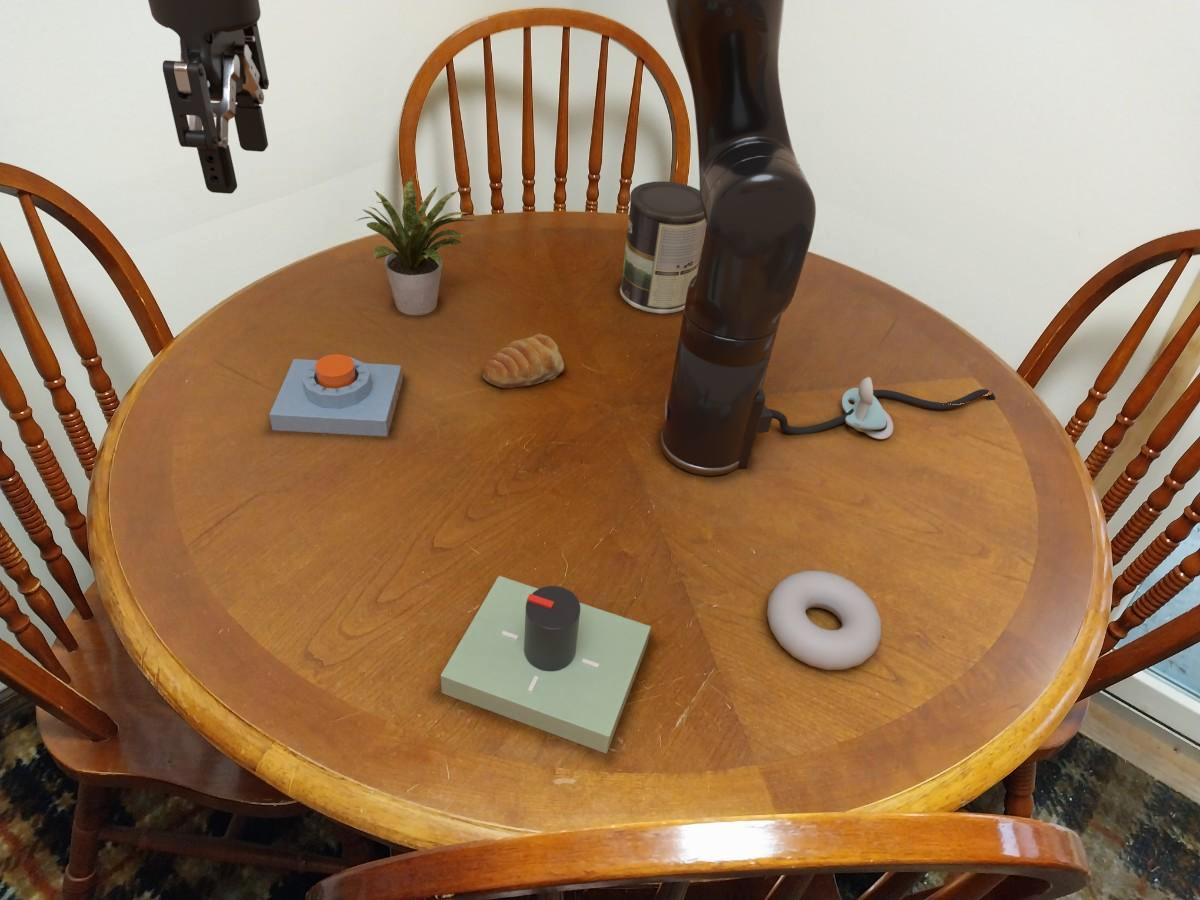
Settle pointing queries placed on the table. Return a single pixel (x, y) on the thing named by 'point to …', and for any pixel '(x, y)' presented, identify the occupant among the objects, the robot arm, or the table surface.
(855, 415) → the pacifier
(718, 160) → the robot arm
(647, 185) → the coffee can
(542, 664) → the program dial
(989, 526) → the table surface
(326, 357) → the button
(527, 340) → the pastry
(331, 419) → the button block
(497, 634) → the dial panel
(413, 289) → the house plant
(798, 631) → the donut
